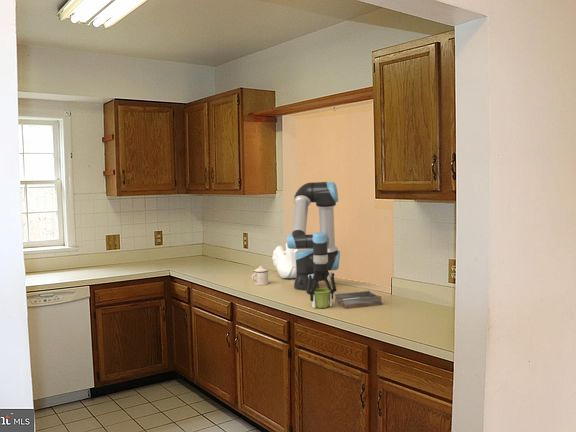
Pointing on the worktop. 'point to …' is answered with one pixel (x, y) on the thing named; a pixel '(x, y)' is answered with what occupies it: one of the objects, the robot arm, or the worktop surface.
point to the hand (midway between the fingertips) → (322, 306)
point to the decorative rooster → (285, 261)
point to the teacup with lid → (260, 276)
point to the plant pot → (321, 297)
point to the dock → (357, 299)
